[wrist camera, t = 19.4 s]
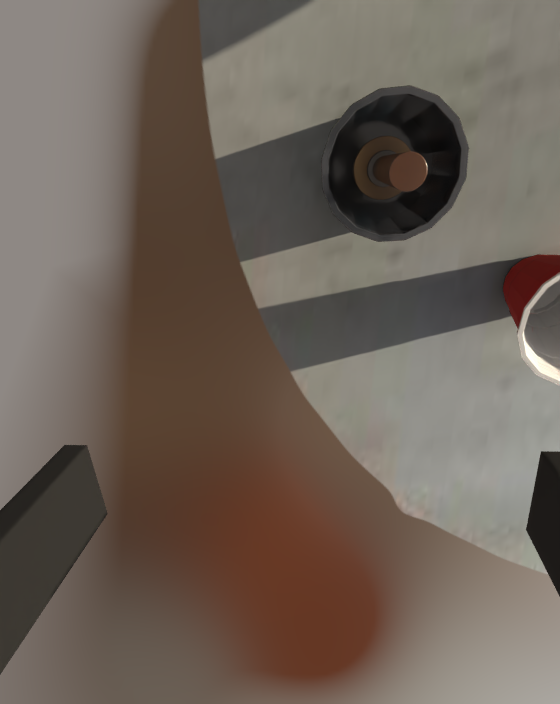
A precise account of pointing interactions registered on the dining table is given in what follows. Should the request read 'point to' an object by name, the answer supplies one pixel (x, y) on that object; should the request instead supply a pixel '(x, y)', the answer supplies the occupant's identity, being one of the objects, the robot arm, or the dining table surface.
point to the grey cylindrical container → (421, 137)
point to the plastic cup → (537, 312)
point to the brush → (388, 168)
